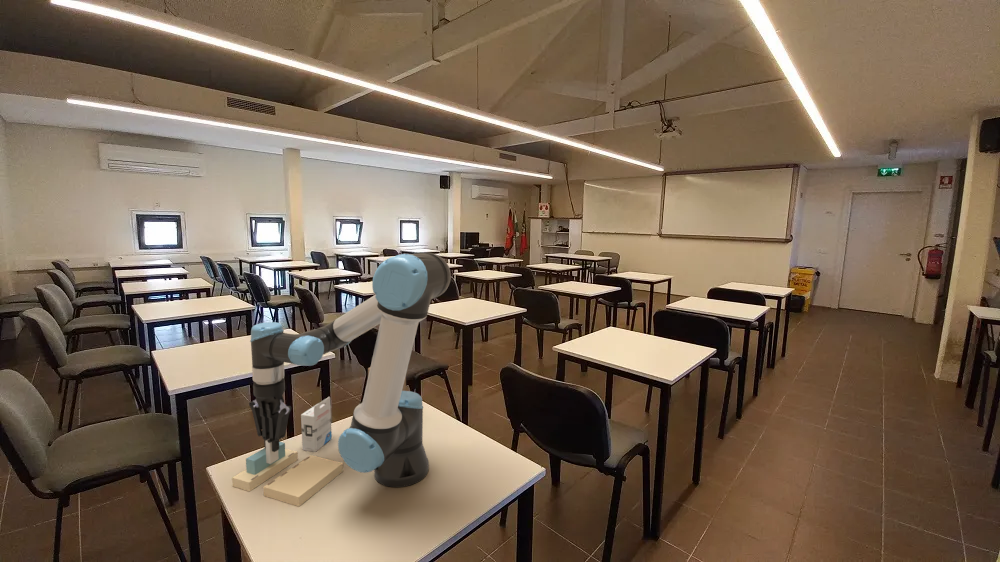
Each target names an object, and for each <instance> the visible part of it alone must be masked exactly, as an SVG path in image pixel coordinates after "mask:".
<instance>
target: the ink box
mask: <svg viewBox="0 0 1000 562" xmlns="http://www.w3.org/2000/svg"><path fill="white" fill-rule="evenodd" d="M300 420H301V421H300V422H301V424H300V425H301V426H300V427H301V448H302V451H309V452H318V451H319V450H320V449H321V448H322V447H324V446H325V445H326V444H327V443H328V442H329V441H331V440H332V435H333V434H332V406H331V397H330V396H328V397H327V398H324V399H323V400H322V401H321V402H318V403H316V404H315V405H313V406H312V407H311V408H308V409H307V410H306V411H304V412H303V413H301V414H300Z"/></svg>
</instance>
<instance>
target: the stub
mask: <svg viewBox="0 0 1000 562" xmlns="http://www.w3.org/2000/svg"><path fill="white" fill-rule="evenodd" d="M278 456H279V459H278V460H276V461H274V462H273V463H271V464H269V463H266V450H265V447H264V448H261V449H260V450H258V451H257V452H255V453H253V454H252V455H249V456H248V457H246V458H245V467H246V469H244V470H243V471H240V472H239V473H237V474H236V475H234V476H232V478H231V480H232V487H234V488H237V489H240V490H244V491H247V492H251V491H252V490H254V489H255V488H257V487H259V486H260V485H261V484H263V483H265V482H266V481H268V480H269V479H270V478H272V477H274V476H275V475H277V474H278V473H280V472H281V471H283V470H285V469H286V468H287V467H289V466H291V465H292V464H293V463H295V462H297V461H298V460H299V458H298V457H299V452H298V451H296V450H293V449H289V448H286V442H283V441H279V450H278Z"/></svg>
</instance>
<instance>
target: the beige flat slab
mask: <svg viewBox="0 0 1000 562" xmlns="http://www.w3.org/2000/svg"><path fill="white" fill-rule="evenodd" d="M343 472H344V463H343V462H339V461H336V460H332V459H329V458H324V457H320V456H316V455H312V454H310V455H309V456H307V457H306V458H304V459H302V460H301V461H299V462H298V463H297V464H295V465H293V466H292V467H291V468H289V469H288V470H286V471H285V472H283V473H281V474H280V475H279V476H277V477H276V478H275V479H272V480H271V481H270V482H268V483H267V484H265V485H264V486H263V490H262V491H263V497H265V498H266V497H267V498H269V499H273V500H276V501H280V502H283V503H285V504H286V503H287V504H288V505H292V506H297V507H300V506H302V505H303V504H304V503H305V502H306V501H308V500H309V499H310V498H311V497H313V496H314V495H315V494H317V493H318V492H319V491H320V490H322V489H323V488H324V487H325V486H327V485H328V484H329V483H330V482H332V481H333V480H334V479H335V478H337V477H339V475H340V474H342V473H343Z"/></svg>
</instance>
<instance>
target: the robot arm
mask: <svg viewBox="0 0 1000 562" xmlns="http://www.w3.org/2000/svg"><path fill="white" fill-rule="evenodd" d="M451 272H452V271H451V269H450V266H449V265H448V263H447V262H446V260H445V259H444V258H443V257H442V256H441V255H438V254H436V253H432V252H420V253H411V254H408V253H401V254H397V255H395V256H392V257H389V258H387V259H385V260H384V261H383V262H381V263H380V264H379V265H378V266H377V269H376V270H375V272H374V274H373V278H372V283H371V285H372V291H373V292H372V293H374V295H373V296H371V297H370V298H367V299H366V300H365V301H362V302H361V303H360V304H358V305H356V306H354V308H352V309H350V310H348V311H347V312H345V313H344V314H343V315H340V316H339V317H337V318H335V320H332V321H331V322H330V323H328V324H326V325H323V326H321V327H317V328H315V329H311V330H308V331H305V332H301V333H297V334H295V333H287V332H284V326H283V324H282V323H280V322H274V321H272V322H271V321H269V322H261V323H256V324H255V325H253V326H252V327H251V330H250V341H249V342H250V346H251V347H250V348H251V365H252V366H251V368H252V370H251V371H252V374H251V375H252V381H253V383H252V388H253V392H252V393H253V396H254V397H255V399H254V400H252V401H249V403H248V405H249V407H250V409H251V411H252V416H253V421H254V425H255V429H256V433H257V436H258V437H261V438H262V440H264V441H263V444H264V445H263V446H264V448H265V450H266V463H269V464H271V463H273V462H274V461H276V460H278V459H279V456H278V450H279V442H280V440H281V439H283V438H285V437H286V433H287V428H288V422H289V416H290V413H291V411H292V409H293V407H292V406H291V405H287V404H285V399H284V397H283V396H284V393H285V391H286V381H285V380H286V378H285V363H286V364H292V365H295V366H303V367H304V366H306V367H307V366H309V367H311V366H314V365H315V366H316V365H317V364H318V363H319V361H320V360H321V359H322V358H323V356H324V355H326V354H327V353H330V352H334V351H336V350H339V349H342V348H344V347H346V346H348V345H349V344H350V343H351V342H352V341H353V340H354V339H357V338H359V336H361V335H364V334H366V333H367V332H369V331H370V330H372V329H373V328H375V327H376V326H379V327H378V332H377V336H376V341H375V344H374V349H373V355H372V357H371V364H370V371H369V376H368V375H367V381H366V386H365V390H364V395H363V399H362V402H361V403H359V404H358V405H357V406H355V408H354V410H353V414H352V418H351V423H350V425H349V427H348V428H345V430H343V432H342V433H341V434H340V435H339V438H338V441H337V448H338V452H339V455H340V457H341V458H342V459H343V462H344V463H345V464H346V465H347V466H348V467H349V468H351V469H352V470H354V471H356V472H358V473H367V474H368V473H370V472H373V471H374V473H373V474H374V475H373V476H374V479H375V480H376V482H378V483H379V484H381V485H383V486H385V487H388V488H389V487H390V488H403V487H408V486H411V485H415V484H416V483H419V482H421V480H423V479H424V478H425V477H426V476H427V474H428V473H429V469H430V467H429V466H430V465H429V459H428V455H427V453H426V452H427V451H426V450H425V447H424V444H423V437H424V436H423V434H424V433H423V424H424V423H423V421H424V420H423V418H424V417H423V416H424V414H423V413H424V411H423V410H424V405H423V398H422V396H421V395H420V394H419V393H417V392H414V391H410V390H406V391H402V389H403V385H404V380H405V376H406V377H407V372H408V368H409V364H410V359H411V355H412V352H413V351H412V350H413V346H414V343H415V338H416V335H417V330H418V326H419V324H420V322H421V321H423V320H425V319H427V317H428V313H429V309H430V305H431V301H432V300H433V299H435V298H438V297H440V296H441V295H443V294H444V293H445V292H446V291H447V289H448V287H449V286H450V283H451V278H452V275H451V274H452V273H451Z"/></svg>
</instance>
